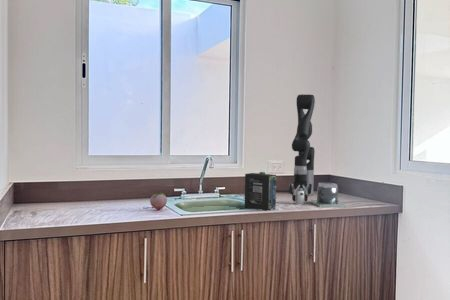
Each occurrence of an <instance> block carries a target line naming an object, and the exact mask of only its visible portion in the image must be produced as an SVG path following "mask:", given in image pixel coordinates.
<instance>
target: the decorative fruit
mask: <svg viewBox="0 0 450 300" xmlns="http://www.w3.org/2000/svg"><path fill="white" fill-rule="evenodd" d="M149 203H150V205H151V207H152V208H154V209H155V210H158V211H161V210H162V209H163V208H165V207H166V205H167V203H168V198H167V196H166V194H165V193H163V192H160V191H158V192H157V193H154V194H153V195H152V196H151V197H150V200H149Z"/></svg>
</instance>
